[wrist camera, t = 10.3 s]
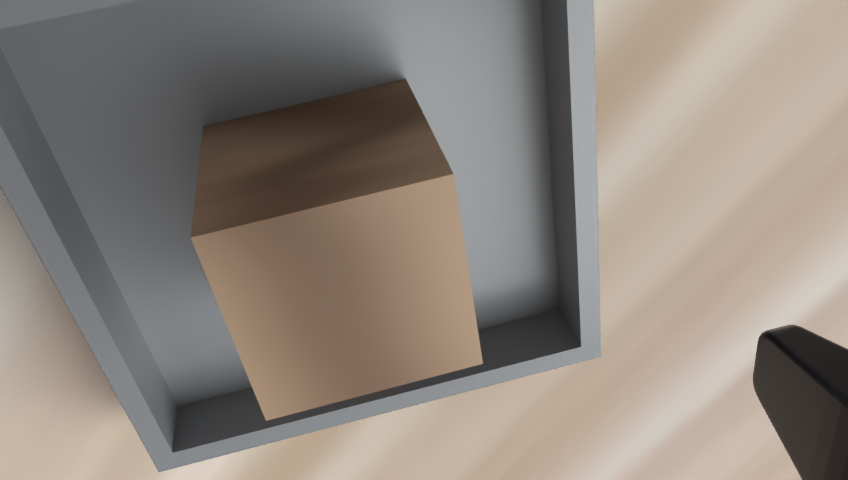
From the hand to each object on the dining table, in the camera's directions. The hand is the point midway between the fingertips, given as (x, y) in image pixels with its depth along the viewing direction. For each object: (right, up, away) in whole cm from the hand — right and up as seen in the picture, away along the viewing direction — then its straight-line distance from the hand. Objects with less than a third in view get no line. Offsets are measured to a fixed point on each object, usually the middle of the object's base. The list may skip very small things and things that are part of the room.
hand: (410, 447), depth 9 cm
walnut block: (-2, +4, +10) cm, 11 cm away
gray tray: (-2, +4, +11) cm, 12 cm away
